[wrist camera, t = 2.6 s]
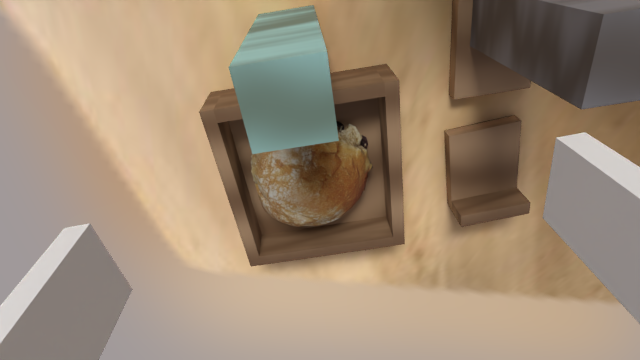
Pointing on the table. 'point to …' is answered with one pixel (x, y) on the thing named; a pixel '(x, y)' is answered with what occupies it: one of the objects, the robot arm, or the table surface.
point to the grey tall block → (547, 49)
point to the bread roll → (313, 179)
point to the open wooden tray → (305, 136)
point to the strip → (484, 171)
